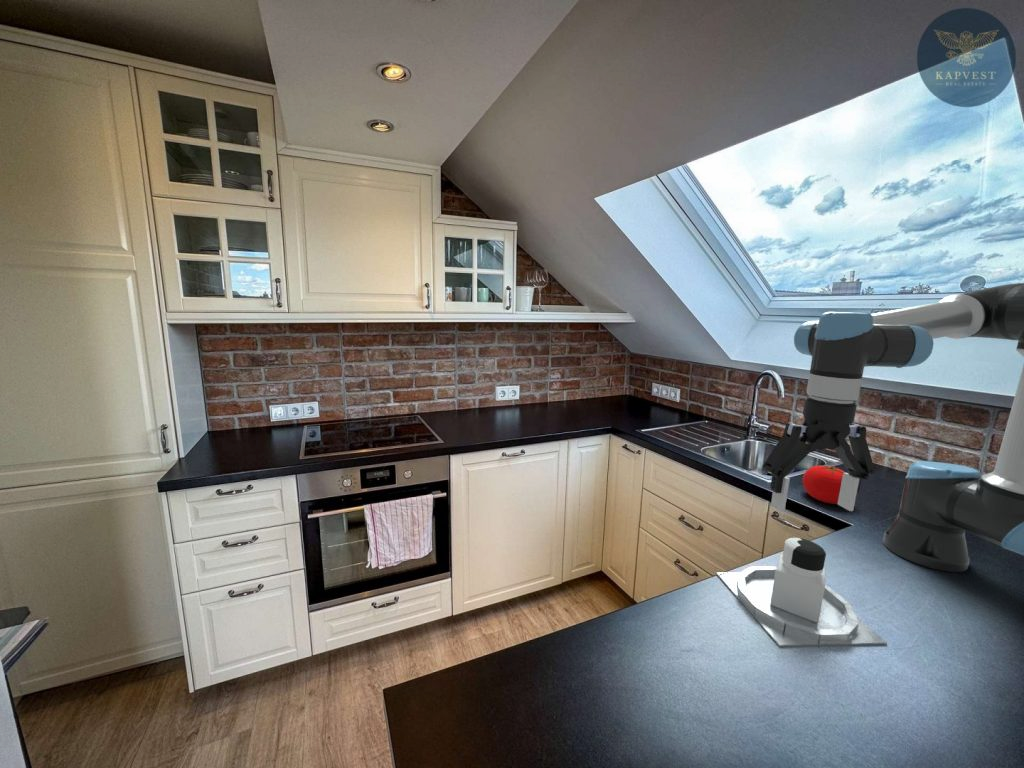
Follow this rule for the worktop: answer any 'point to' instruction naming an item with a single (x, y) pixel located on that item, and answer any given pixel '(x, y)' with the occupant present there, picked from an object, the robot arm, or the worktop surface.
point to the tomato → (823, 483)
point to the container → (800, 579)
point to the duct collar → (791, 629)
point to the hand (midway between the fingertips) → (811, 508)
